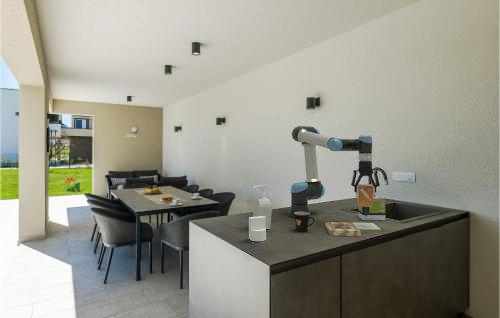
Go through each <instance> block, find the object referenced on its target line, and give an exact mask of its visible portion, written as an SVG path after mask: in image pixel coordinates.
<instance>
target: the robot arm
mask: <svg viewBox="0 0 500 318" xmlns="http://www.w3.org/2000/svg"><path fill="white" fill-rule="evenodd" d="M291 138H292V139H293V140H294V141H295V142H297V143H301V146H302V147H303V151H304V152H303V153H304V162H305V163H304V164H305V165H304V166H305V178H306V179H305V180H304V182H294V183H293V184H291V188H290V193H291V197H290V199H291V201H290V203H291V205H290V208H289V210H288V217H290V216H291V217H290V218H293V217H295V215H294V213H295V212H307V213H309V217H311V210H310V207H309V202H308V201H311V200H313V201H314V200H318V199H321V198H323V196H324V195H325V192H326V190H325V186H324V184H323V183H322V182H321V180H320V179H319V172H318V159H317V147H316V146H319V147H322V148H325V149H328V150H329V151H331V152H358V169H354V170H353V171H352V172H353V175H352V179H351V183H350V185H351V187H354V189H353V190H354V193H355V198H356V199H358V184H360V182H361V180H362V178H363V177H368V179H369V180H370V182H371V184H372V185H373V198H375V197H376V196H375V193H377V187H380V185H381V184H380V181H379V176H378V171H379V170H377V169H373V161H372V160H373V136H372V135H370V134H366V135H365V134H364V135H361V134H360V135H358V138H338V137H332V136H329V135H324V134H321V132H320V131H319V129H318V128H317V127H315V126H309V125H308V126H307V125H306V126H303V125H298V126H296V127H294V128H293V129H292V131H291ZM358 173H359V175H358V177H357V174H358ZM372 173H373V176H374V178H373V176H372ZM356 178H357V179H356Z"/></svg>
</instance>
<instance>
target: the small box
mask: <svg viewBox="0 0 500 318" xmlns="http://www.w3.org/2000/svg"><path fill="white" fill-rule="evenodd" d="M357 187H358V198H357V207H358V206H362V207H373V187H374V186H373V185H372V183H371V184H370V183H369V184H368V183H363V184H361V183H359V184H358V186H357Z"/></svg>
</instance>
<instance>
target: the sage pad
mask: <svg viewBox="0 0 500 318" xmlns="http://www.w3.org/2000/svg"><path fill="white" fill-rule="evenodd" d="M352 223H353V224H354V225H355V226H356V227H357V228H358V229H359V230H360V231H364V230H365V231H381V228H380V227H379V226H378V225H376V224H375V223H374V222H352Z"/></svg>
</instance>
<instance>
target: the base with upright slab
mask: <svg viewBox="0 0 500 318" xmlns="http://www.w3.org/2000/svg"><path fill="white" fill-rule="evenodd" d="M249 239H250V240H252V241H264V240H266V241H267V230H266V217H265V216H258V217H253V216H250V217H248V240H249Z"/></svg>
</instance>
